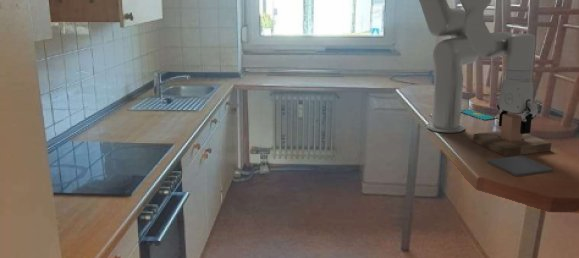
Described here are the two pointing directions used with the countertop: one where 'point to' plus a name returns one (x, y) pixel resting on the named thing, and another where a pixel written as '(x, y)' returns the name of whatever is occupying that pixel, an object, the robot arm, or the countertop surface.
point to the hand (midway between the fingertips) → (513, 129)
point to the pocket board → (511, 144)
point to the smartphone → (476, 114)
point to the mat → (519, 165)
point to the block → (511, 127)
